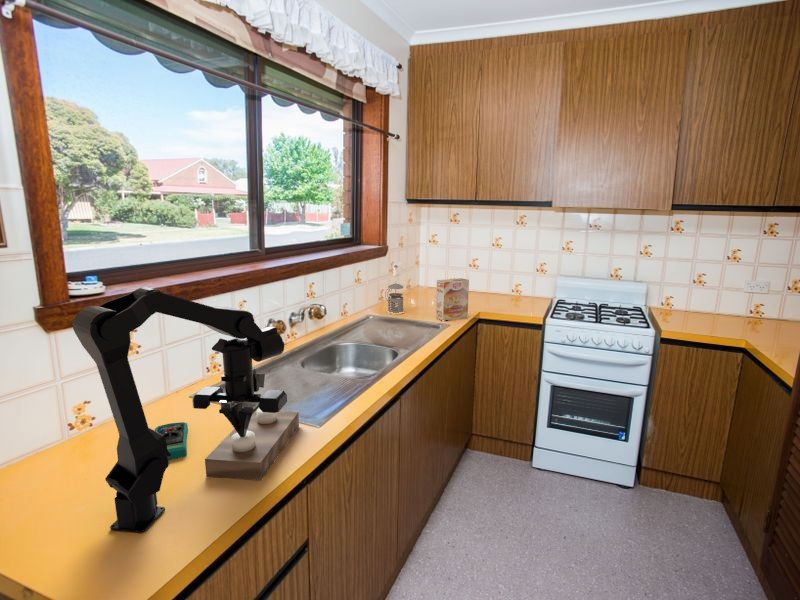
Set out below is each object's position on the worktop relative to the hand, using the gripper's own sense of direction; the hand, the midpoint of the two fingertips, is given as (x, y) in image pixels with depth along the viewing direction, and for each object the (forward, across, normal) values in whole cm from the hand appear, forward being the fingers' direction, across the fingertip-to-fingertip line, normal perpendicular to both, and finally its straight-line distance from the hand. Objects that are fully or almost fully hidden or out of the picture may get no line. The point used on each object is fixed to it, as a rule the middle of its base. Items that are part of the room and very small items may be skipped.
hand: (243, 436), depth 102 cm
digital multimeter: (+7, +21, -6) cm, 23 cm away
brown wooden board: (+7, 0, -6) cm, 9 cm away
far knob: (+7, 0, -13) cm, 15 cm away
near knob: (+7, 0, 0) cm, 7 cm away
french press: (+7, -14, -149) cm, 150 cm away
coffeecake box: (+7, -44, -139) cm, 146 cm away
